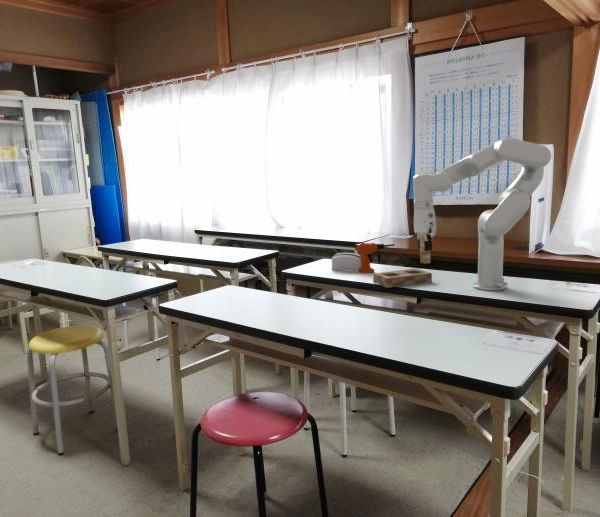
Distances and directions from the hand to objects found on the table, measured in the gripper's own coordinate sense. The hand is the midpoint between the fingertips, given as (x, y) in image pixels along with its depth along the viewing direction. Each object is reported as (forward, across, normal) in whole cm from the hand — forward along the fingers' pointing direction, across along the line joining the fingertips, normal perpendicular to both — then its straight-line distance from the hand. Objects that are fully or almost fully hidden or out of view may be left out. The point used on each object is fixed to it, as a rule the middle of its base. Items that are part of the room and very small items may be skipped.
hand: (425, 249), depth 213 cm
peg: (+5, 0, 0) cm, 5 cm away
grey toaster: (+15, +50, +13) cm, 54 cm away
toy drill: (+16, +38, +3) cm, 41 cm away
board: (+16, +14, +3) cm, 21 cm away
